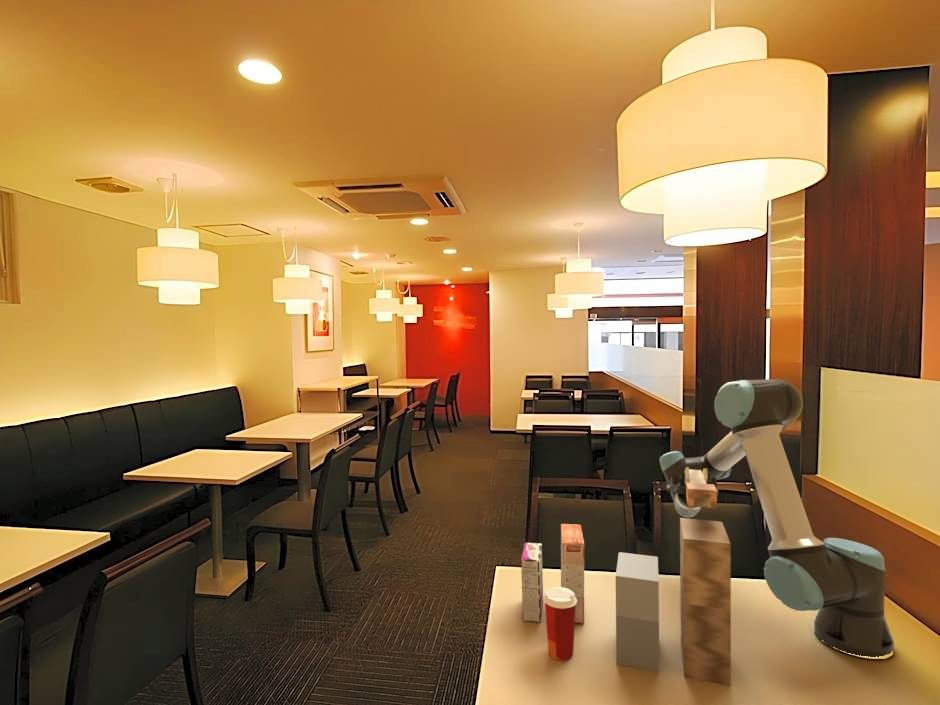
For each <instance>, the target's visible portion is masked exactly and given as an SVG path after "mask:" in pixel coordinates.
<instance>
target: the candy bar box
mask: <svg viewBox="0 0 940 705" xmlns="http://www.w3.org/2000/svg"><path fill="white" fill-rule="evenodd" d="M542 548H543V544H542V543H541V542H540V543H538V542H524V544H523V550H522V551H523V552H522V555H521V560H520V561H521V563H520V564H521V566H520V568H521V569H520V570H521V591H522V594H521V598H522V599H521V600H522V605H521V606H522V621H523V622H530V621H533V622H532V623H541V622H542V614H543V605H544V600H543V596H544V584H543V583H544V582H543V579H544V578H543V549H542Z"/></svg>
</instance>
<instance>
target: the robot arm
mask: <svg viewBox="0 0 940 705" xmlns="http://www.w3.org/2000/svg"><path fill="white" fill-rule="evenodd" d="M803 400H804V398H803V397H802V394H801V392H800V390H799V389H798V388H797V387H796V386H795V385H794V384H792V383H791V382H788V381H786V380H784V379H780V378H779V379H777V378H769V379H740V380H734V381H729V382H726V383H724V384H723V385H722V386H721V387H720V388H719V390H718V391H717V394H716V395H715V397H714V413H715V416H716V418H717V421H719V423H721V424H722V425H723V426H725V427H727V428H730V429H731V430H730V432H729V433H728V434H726V436H724V437H723V439H721V440H720V441H719V442H717V444H716V445H714V446H713V447H712V448H711V449H710V450H709V451H708V452H707V453H705V454H704V455H702V456H696V457H685V456H684V455H683V453H682V452H681V451H678V450H674V451H670V452H666V453H664V454H663V455H662V456H660V457H659V465H660V468H661V471H662V473H663V475H664V478H665V480H666V492H668V493H670V495H671V498H672V500H673V506H674V509H675V512H677V513H678V514H679V515H681V516H682V517H683V518H692V517H695V516H697V515H698V514H699V512H700V511H701V510H702V507H695V506H688V504H687V499H686V483H688V481H689V469H691V470H701V472H702V474H703V477H704V479H705V482H706V484H713V485H714V486H715V488H716V490H717V497H718V496H719V489H718V482H717V481H718V480H719V481H720V480H722V479H726V478H728V477H730V475H731V472H732V467H733V466H734V465H735V464H737V463H738V462H739V461H740V460H742V459H743V458H744V457H746V460H747V463H748V467H749V470H750V472H751V476H752V480H753V482H754V485H755V489H756V491H757V495H758V497H759V501H760V504H761V508H762V511H763V514H764V517H765V520H766V524H767V526H768V530H769V533H770V536H771V542H770V544H768V545H769V546H768V547H767V551H768V553H769V556H770V557H769V558H768V559H767V560H766V561H765V563H764V567H763V575H764V579H765V582H766V584H767V586H768V588H769V590H770V592H771V593H772V594H773V595H774V596H775V597H776V599H778V600H779V601H780V602H781V603H782V604H783V606H784V605H785V607H788V608H789V609H792V610H794V611H798V612H805V611H806V612H807V611H813V612H814V611H815V612H816V611H818V612H817V614H816V616H815V619H814V621H813V623H814V624H813V625H814V626H813V627H814V628H813V630H815V632H814V634H815V633H816V634H817V636H818V637H819V638H820V639H821V640H823V641H824V642H825V643H827V644H828V645H830V646H832V647H835V648H837V649H839V650H842V651H845V652H847V653H851V654H855V655H859V656H860V655H861V656H868V657H869V656H870V657H876V656H877V657H879V656H884V655H887V654H890V653H891V652H892V651H893V649H894V650H895V643H894V639H893V635H892V633H891V630H890V628H889V625H888V622H887V619H886V617H885V600H886V599H885V594H886V593H885V588H886V587H885V585H886V584H885V583H886V582H885V579H886V578H885V577H886V576H885V575H886V571H887V570H886V567H885V558H884V556H883V555H882V553H881V552H880V551H878V549H875V548H873V547H872V546H869V545H866V544H864V543H860V542H857V541H853V540H850V539H844V538H838V537H827V538H825V539H823V541H822V540H820V539H818V538H817V537H816V536H815V535H814V532H813V531H812V528H811V524H810V521H809V518H808V516H807V512H806V510H805V506H804V504H803V501H802V498H801V494H800V492H799V489H798V486H797V484H796V480H795V478H794V475H793V472H792V468H791V466H790V463H789V460H788V458H787V454H786V452H785V448H784V445H783V442H782V440H781V437H780V433H781V432H782V431H784V430H786V429H787V428H788V427H790V426H791V425H792V424H793V423H794V422H796V420H797V419H798V418H799V417H800V415H801V414H802V411H803V408H804V402H803ZM816 634H815V635H816ZM817 636H816V637H817ZM818 637H817V638H818ZM819 638H818V639H819ZM820 639H819V640H820ZM821 640H820V641H821ZM824 642H823V643H824ZM825 643H824V644H825ZM828 645H827V646H828ZM830 646H829V647H830Z"/></svg>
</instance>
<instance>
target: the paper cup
mask: <svg viewBox="0 0 940 705" xmlns="http://www.w3.org/2000/svg"><path fill="white" fill-rule="evenodd" d="M543 603H544V608H545V610H544V611H545V622H546V623H545V624H546V626H545V627H546V634H547V635H546V637H547V649H548V655H549V656H550V658H552V660H556V661H558V660H559V662H566V661H569V660H571V659H572V657H573V655H574V644H575V643H574V642H575V624H576V623H575V607H576V603H577V599H576V597H575V594H574V592H573V591H571V590H570V589H567V588H563V587H561V586H554V587H551V588H548V589H547V590H546V591H545V592H544V593H543Z"/></svg>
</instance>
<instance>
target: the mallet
mask: <svg viewBox="0 0 940 705" xmlns="http://www.w3.org/2000/svg"><path fill="white" fill-rule="evenodd" d="M686 499H687V504H688V506H695V507H701V508H708V509H710V508H711V509H718V496H717V490H716V488H715V486H714V485H713V484H706V482H705V479H704V477H703V474H702V472H701V470H691V469H689V481H688V483H686Z"/></svg>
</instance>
